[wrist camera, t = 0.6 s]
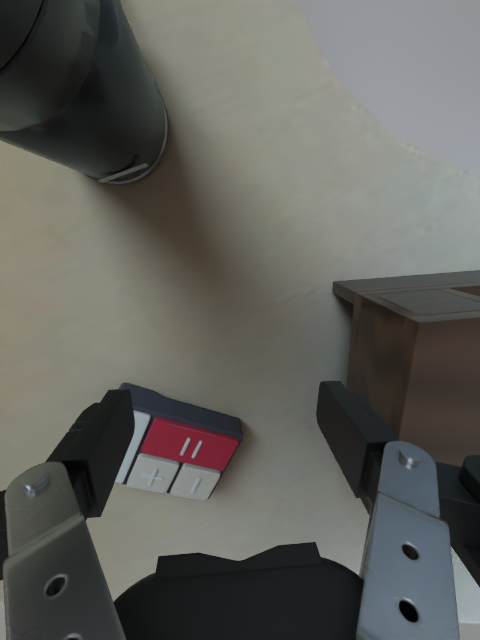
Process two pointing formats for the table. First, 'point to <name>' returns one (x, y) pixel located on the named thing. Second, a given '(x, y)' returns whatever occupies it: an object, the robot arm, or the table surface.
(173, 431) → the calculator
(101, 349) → the table surface
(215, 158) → the table surface
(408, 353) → the shelf
